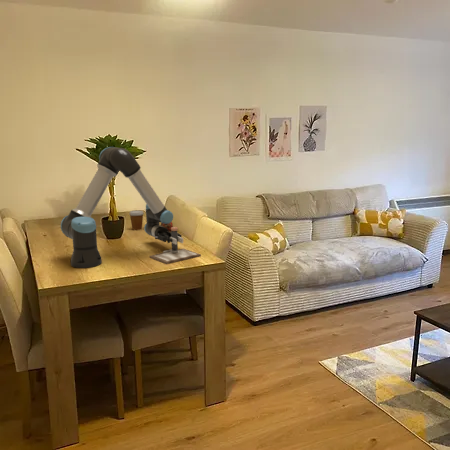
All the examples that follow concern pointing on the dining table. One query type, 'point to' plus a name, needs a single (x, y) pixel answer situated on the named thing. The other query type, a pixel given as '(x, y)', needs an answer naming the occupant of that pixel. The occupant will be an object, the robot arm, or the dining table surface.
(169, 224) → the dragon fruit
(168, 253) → the clipboard
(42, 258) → the dining table surface
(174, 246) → the marker
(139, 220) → the disposable coffee cup
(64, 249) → the dining table surface
